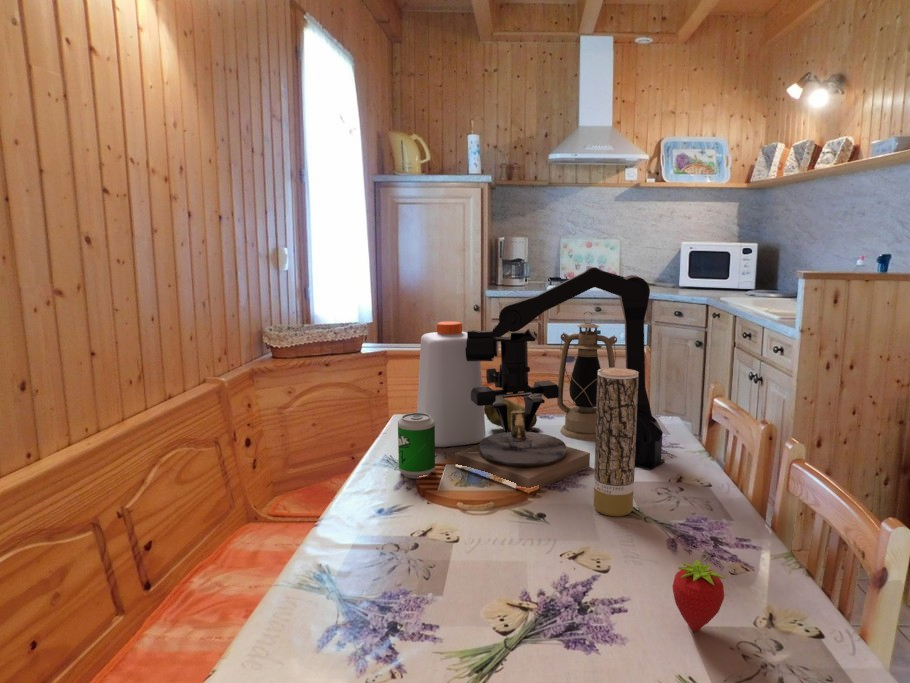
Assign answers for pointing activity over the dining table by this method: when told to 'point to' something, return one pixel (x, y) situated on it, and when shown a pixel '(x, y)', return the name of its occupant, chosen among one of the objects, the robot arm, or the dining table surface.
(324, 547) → the dining table surface
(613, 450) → the paper tube
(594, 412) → the lantern
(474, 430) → the plastic bottle
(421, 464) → the soda can
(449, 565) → the dining table surface
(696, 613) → the strawberry
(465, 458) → the wheel base
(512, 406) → the potato
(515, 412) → the handwheel
